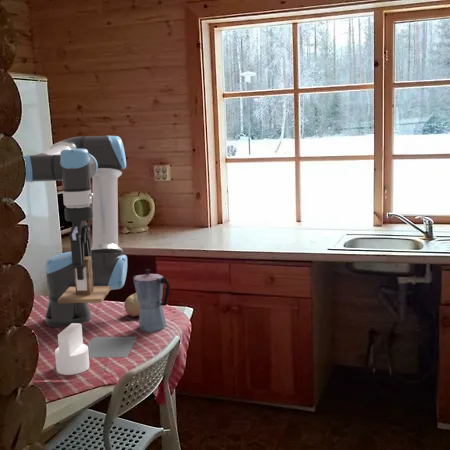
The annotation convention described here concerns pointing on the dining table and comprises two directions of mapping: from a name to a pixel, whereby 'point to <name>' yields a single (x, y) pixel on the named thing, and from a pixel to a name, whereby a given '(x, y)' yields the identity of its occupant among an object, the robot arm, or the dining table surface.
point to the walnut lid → (88, 296)
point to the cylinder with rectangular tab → (71, 351)
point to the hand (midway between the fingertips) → (84, 287)
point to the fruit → (132, 305)
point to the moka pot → (151, 301)
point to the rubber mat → (110, 346)
